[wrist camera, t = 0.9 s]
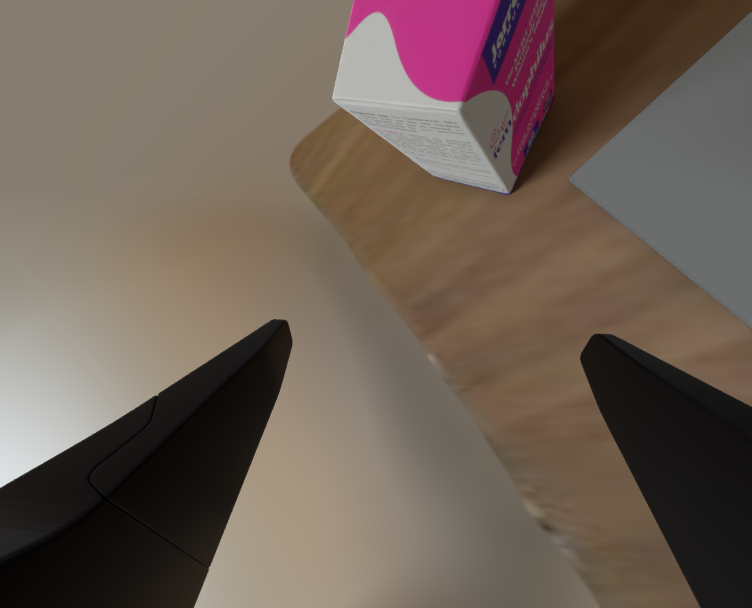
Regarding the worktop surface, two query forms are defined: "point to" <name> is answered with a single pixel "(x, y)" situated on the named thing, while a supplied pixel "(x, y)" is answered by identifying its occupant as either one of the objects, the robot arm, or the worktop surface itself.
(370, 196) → the worktop surface
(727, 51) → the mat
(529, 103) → the supplement box
